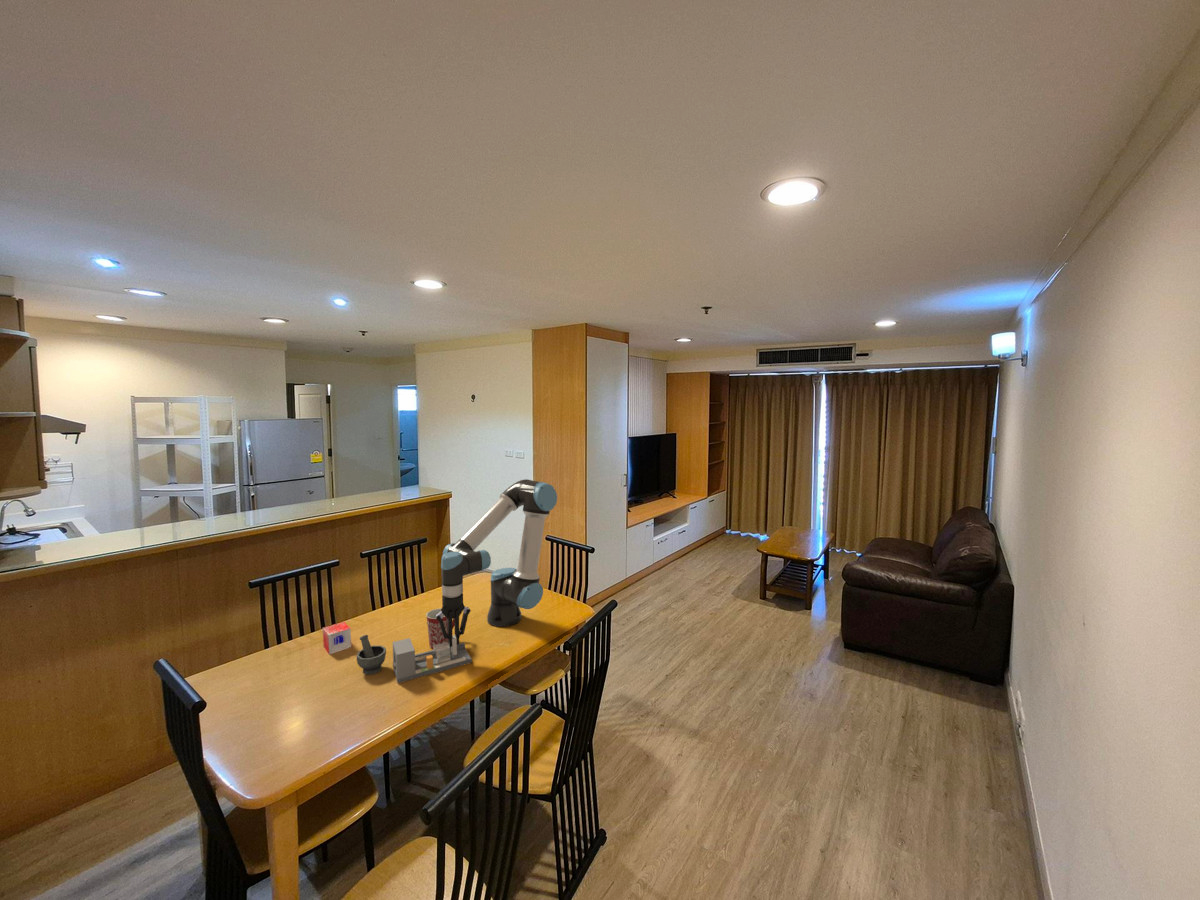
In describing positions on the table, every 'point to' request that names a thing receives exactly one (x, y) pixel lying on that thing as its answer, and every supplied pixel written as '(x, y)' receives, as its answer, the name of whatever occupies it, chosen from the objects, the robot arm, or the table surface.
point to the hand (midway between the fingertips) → (453, 653)
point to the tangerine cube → (429, 662)
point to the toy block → (336, 637)
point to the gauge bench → (412, 669)
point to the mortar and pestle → (370, 657)
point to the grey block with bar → (436, 654)
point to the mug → (436, 628)
